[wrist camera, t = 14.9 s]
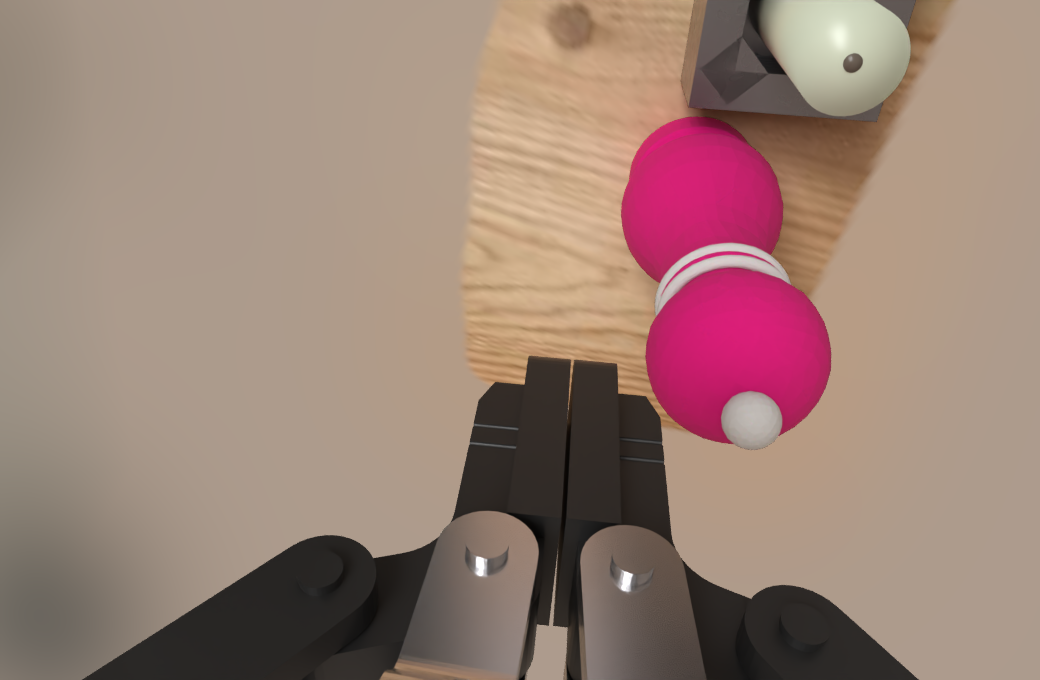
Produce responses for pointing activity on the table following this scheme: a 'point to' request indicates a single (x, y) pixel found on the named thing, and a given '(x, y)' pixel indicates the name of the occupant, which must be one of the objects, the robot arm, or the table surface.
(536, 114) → the table surface
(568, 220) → the table surface
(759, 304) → the pepper mill
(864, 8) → the candle
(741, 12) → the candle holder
